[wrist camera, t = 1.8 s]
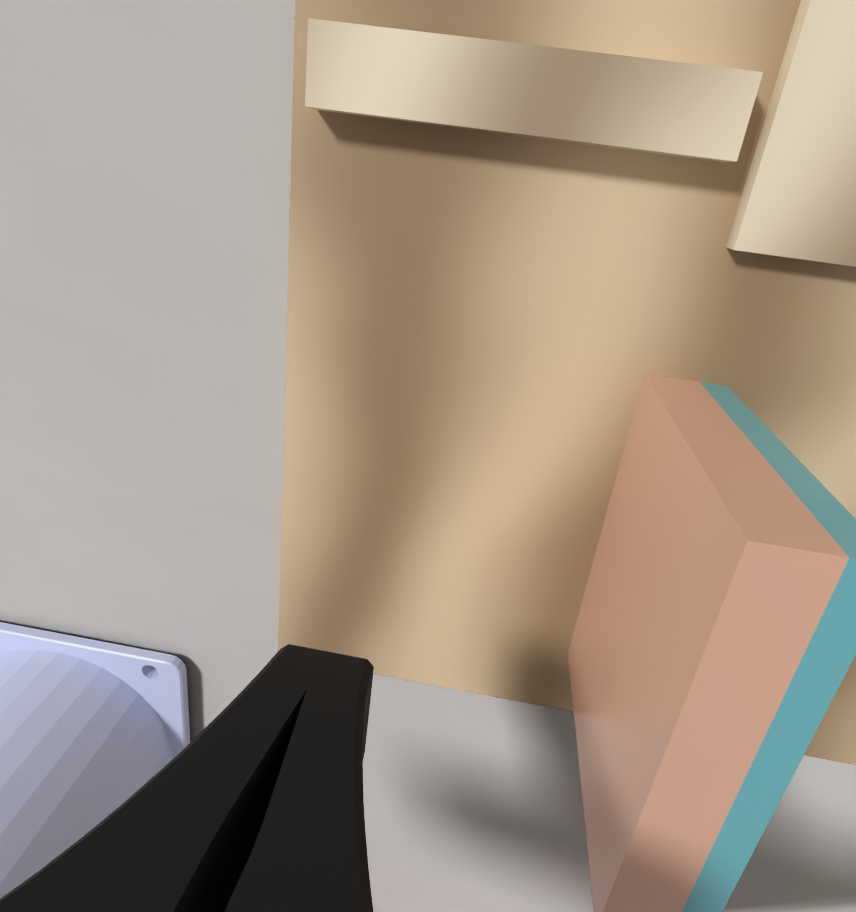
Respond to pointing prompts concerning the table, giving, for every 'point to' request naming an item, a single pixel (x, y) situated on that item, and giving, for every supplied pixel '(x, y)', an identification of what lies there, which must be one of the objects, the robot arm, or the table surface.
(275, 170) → the table surface
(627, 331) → the cork mat
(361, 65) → the wooden turner
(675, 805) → the tile
